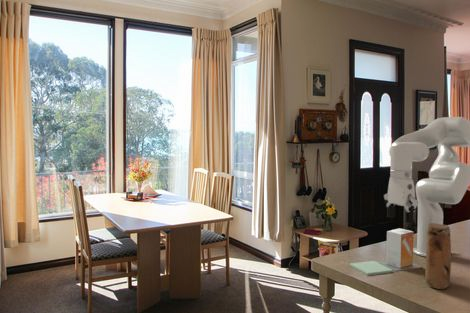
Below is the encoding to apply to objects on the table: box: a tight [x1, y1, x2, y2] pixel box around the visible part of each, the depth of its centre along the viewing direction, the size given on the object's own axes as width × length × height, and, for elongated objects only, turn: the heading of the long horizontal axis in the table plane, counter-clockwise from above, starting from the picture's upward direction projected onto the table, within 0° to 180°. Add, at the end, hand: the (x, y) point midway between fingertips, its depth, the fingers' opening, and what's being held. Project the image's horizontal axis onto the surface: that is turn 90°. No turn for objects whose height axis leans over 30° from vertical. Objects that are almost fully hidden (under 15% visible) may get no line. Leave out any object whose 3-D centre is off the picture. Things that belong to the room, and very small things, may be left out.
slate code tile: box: [378, 260, 423, 272], centre depth 150 cm, size 12×10×1 cm
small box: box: [385, 227, 415, 268], centre depth 149 cm, size 8×6×13 cm
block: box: [424, 223, 452, 290], centre depth 130 cm, size 11×8×20 cm
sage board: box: [349, 260, 394, 276], centre depth 146 cm, size 11×11×1 cm
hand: (399, 219), depth 149 cm, fingers open, 9 cm apart
